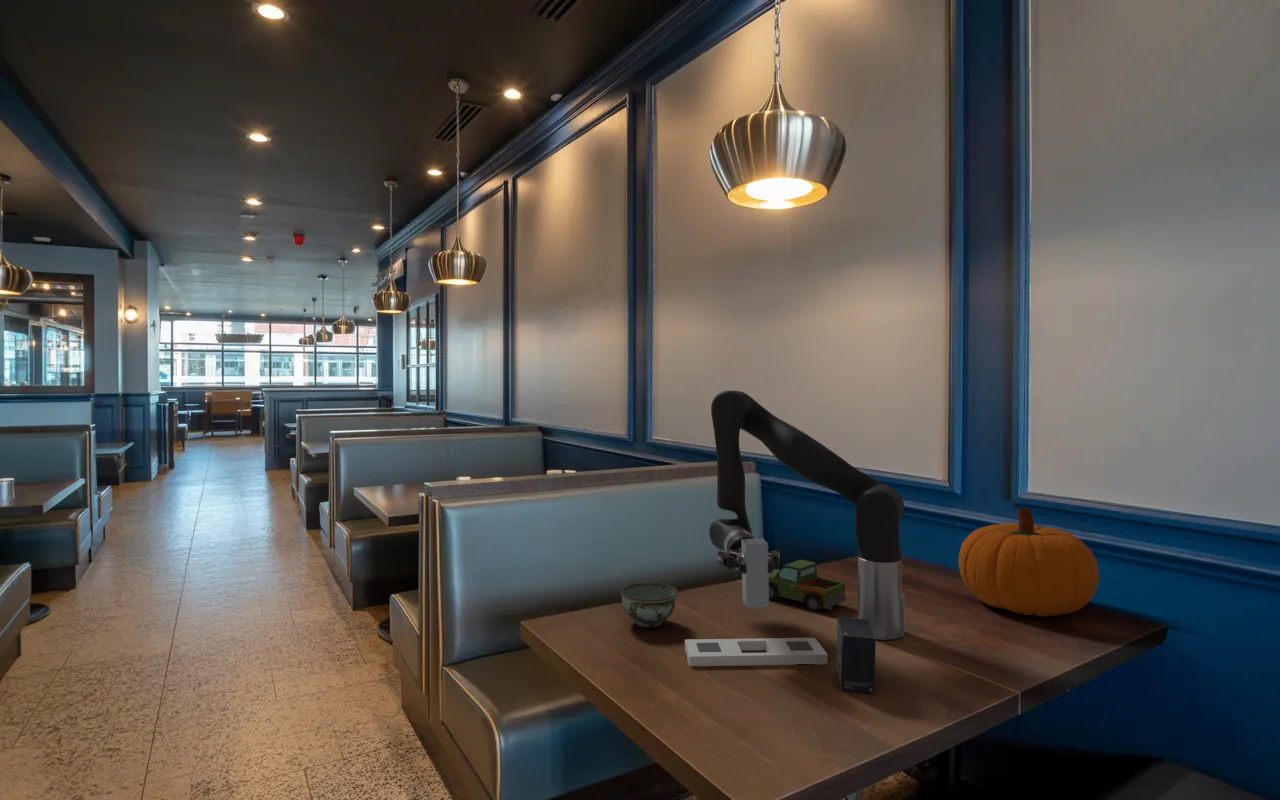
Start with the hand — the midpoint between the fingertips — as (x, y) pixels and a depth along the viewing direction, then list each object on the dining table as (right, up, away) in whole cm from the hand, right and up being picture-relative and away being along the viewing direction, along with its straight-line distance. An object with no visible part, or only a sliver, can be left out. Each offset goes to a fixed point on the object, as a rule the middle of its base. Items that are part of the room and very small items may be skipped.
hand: (757, 568), depth 137 cm
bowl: (-22, -19, +22) cm, 37 cm away
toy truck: (+18, -19, +39) cm, 47 cm away
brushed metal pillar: (0, -8, +3) cm, 8 cm away
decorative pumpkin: (+74, -18, +35) cm, 84 cm away
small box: (+17, -20, -8) cm, 27 cm away
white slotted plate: (0, -19, +3) cm, 19 cm away
